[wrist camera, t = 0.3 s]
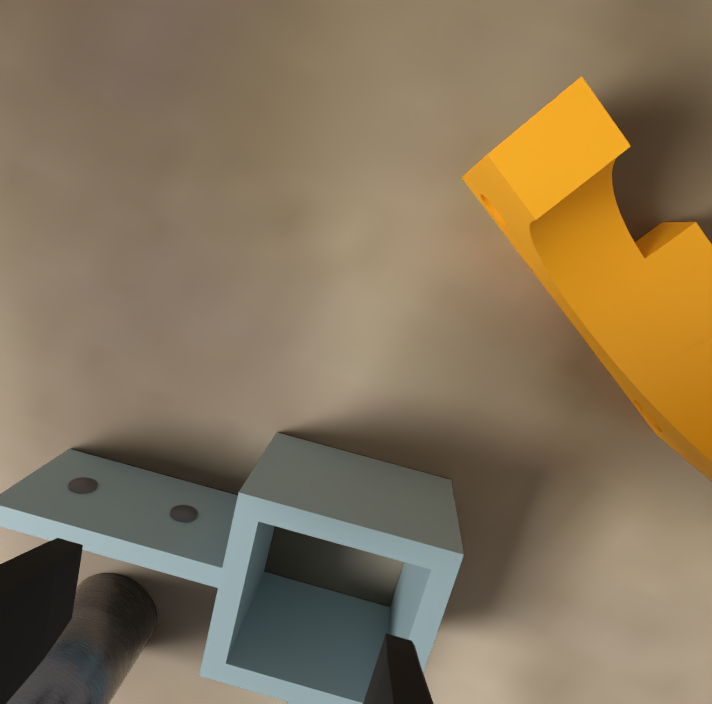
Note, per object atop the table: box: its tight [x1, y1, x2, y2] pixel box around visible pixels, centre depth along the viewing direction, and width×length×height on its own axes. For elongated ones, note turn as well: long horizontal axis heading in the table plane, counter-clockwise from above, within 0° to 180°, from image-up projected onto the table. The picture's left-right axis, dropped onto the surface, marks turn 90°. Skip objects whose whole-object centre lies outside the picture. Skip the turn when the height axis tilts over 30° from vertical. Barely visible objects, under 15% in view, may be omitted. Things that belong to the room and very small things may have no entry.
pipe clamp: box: [462, 76, 712, 481], centre depth 16 cm, size 12×4×6 cm, turn 40°
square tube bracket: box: [0, 433, 464, 704], centre depth 21 cm, size 15×16×5 cm
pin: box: [6, 573, 157, 704], centre depth 21 cm, size 4×4×7 cm
